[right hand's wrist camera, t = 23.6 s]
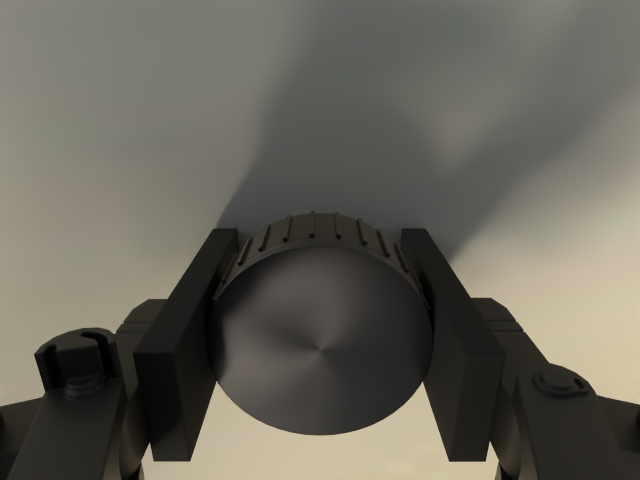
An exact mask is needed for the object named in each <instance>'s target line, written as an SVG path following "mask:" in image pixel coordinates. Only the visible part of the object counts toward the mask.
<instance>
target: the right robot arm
mask: <svg viewBox="0 0 640 480" xmlns="http://www.w3.org/2000/svg"><path fill="white" fill-rule="evenodd" d="M235 252H236V253H239V249H238V236H237V229H213V230H212V232H211V233H210V235H209V237H208V238H207V240H206V241H205V243H204V244H203V246H202V247H201V249H200V250H199V252H198V253H197V255H196V256H195V258H194V259H193V261H192V263H191V264H190V266H189V267H188V269H187V270H186V272H185V273H184V275H183V276H182V278H181V279H180V281H179V282H178V284H177V285H176V287H175V289H174V290H173V292H172V293H171V295H170V296H169V298H168V299H148V300H147V301H145V302H144V303H142V304H140V305H139V306H137V307H136V308H134V309H133V310H132V311H131V313H130V314H129V315H128V316H127V318H126V319H125V320H124V324H121V326H120V327H119V328H118V329H117V331H116V334H113V333H112V332H110V331H109V330H106V329H102V328H82V329H78V330H73V331H69V332H66V333H64V334H62V335H59V336H57V337H54V338H53V339H51V340H49V341H48V342H46V343H45V344H43V345H42V346H41V347H40V348H39V349H38V350H37V352H36V353H35V354H34V356H35V359H36V362H37V366H38V369H39V372H40V376H41V379H42V382H43V386H44V389H45V394H44V396H43V397H41V398H37V399H33V400H29V401H24V402H19V403H15V404H10V405H5V406H1V407H0V480H144V473H143V467H142V462H141V460H142V458H143V456H144V454H145V451H146V449H147V447H148V445H149V442H150V445H151V450H152V455H153V460H154V461H190V460H191V457H192V454H193V451H194V448H195V445H196V442H197V439H198V436H199V433H200V430H201V427H202V424H203V421H204V418H205V415H206V412H207V408H208V405H209V402H210V399H211V396H212V393H213V390H214V387H215V384H216V381H217V380H216V378H215V376H214V374H213V372H212V369H211V366H210V363H209V360H208V355H207V348H206V330H207V323H208V319H209V316H210V312H211V309H212V307H213V305H214V304H213V303H211V302H212V299H213V297H214V295H215V292H216V290H217V288H218V286H219V284H220V282H221V280H222V277H223V275H224V273H225V271H226V270H227V268H228V266H229V264H230V262H231V260H232V257H233V255H234V254H235ZM401 252H402V254H403V256H404V258H405V260H406V261H407V260H410V262H411V264H412V267H413V269H414V271H415V273H416V275H417V278H418V280H419V282H420V284H421V286H422V289H423V294H424V296H425V298H426V300H427V303H428V305H429V307H430V310H431V312H429V314H430V317H431V321H432V325H433V334H434V342H433V351H432V358H431V363H430V365H429V368H428V371H427V374H426V376H425V377H424V379H423V383H424V387H425V390H426V393H427V396H428V399H429V402H430V405H431V408H432V411H433V414H434V417H435V420H436V423H437V426H438V429H439V432H440V435H441V438H442V441H443V444H444V447H445V450H446V453H447V456H448V459H449V462H486V457H487V452H488V447H489V442H491V444H492V446H493V448H494V451H495V453H496V455H497V457H498V459H499V462H498V467H497V472H496V476H495V480H640V405H639V404H634V403H629V402H625V401H620V400H615V399H610V398H606V397H602V396H598V395H596V393H595V391H594V389H593V388H592V387H591V385H590V384H589V383H588V381H586V380H585V379H584V378H582V377H581V376H580V375H578V374H577V373H575V372H573V371H571V370H569V369H567V368H565V367H562V366H558V365H555V364H551V363H549V362H548V361H547V360H546V358H545V357H544V356H543V354H542V353H541V352H540V351H539V349H538V348H537V347H536V345H535V344H534V343H533V342H532V340H531V339H530V338H529V336H528V335H527V334H526V333H525V332H523V329H522V327H521V326H520V325H519V323H518V322H516V320H515V318H514V317H513V316H512V314H511V313H510V312H509V311H508V309H507V308H506V307H504V306H503V305H501V304H500V303H498V302H496V301H495V300H493V299H492V298H471V297H470V296H469V294H468V293H467V291H466V290H465V288H464V287H463V285H462V284H461V282H460V281H459V279H458V278H457V276H456V275H455V273H454V272H453V270H452V268H451V267H450V265H449V264H448V262H447V261H446V259H445V258H444V256H443V255H442V253H441V252H440V250H439V249H438V247H437V246H436V244H435V243H434V241H433V239H432V238H431V236H430V235H429V233H428V232H427V230H426V229H402V237H401Z"/></svg>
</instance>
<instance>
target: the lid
mask: <svg viewBox="0 0 640 480" xmlns="http://www.w3.org/2000/svg"><path fill="white" fill-rule="evenodd" d="M211 303H213V304H214V305H213V307H212V309H211V312H210V316H209V319H208V323H207V330H206V348H207V355H208V360H209V363H210V366H211V369H212V372H213V374H214V376H215V378H216V380H217V382H218V384H219V385H220V386H221V388H222V389H223V391H224V392H225V393H226V395H227V396H228V397H229V398H230V399H231V400H232V401H233V402H234V403H235V404H236V405H237V406H238V407H240V408H241V409H242V410H243V411H244V412H246V413H247V414H249V415H250V416H252V417H254V418H255V419H257V420H259V421H261V422H263V423H265V424H267V425H270V426H272V427H275V428H277V429H280V430H284V431H288V432H292V433H298V434H304V435H335V434H342V433H348V432H352V431H356V430H360V429H362V428H365V427H368V426H371V425H373V424H375V423H377V422H379V421H381V420H383V419H385V418H386V417H388V416H389V415H391V414H393V413H394V412H395V411H397V410H398V409H399V408H400V407H401V406H403V405H404V404H405V403H406V402H407V401H408V400H409V399H410V398H411V397H412V396H413V394H414V393H415V392H416V390H417V389H418V388H419V386H420V385H421V383H422V381H423V379H424V377H425V376H426V374H427V371H428V368H429V365H430V363H431V358H432V351H433V342H434V334H433V325H432V321H431V317H430V314H429V312H431V310H430V307H429V305H428V303H427V300H426V298H425V296H424V294H423V289H422V286H421V284H420V282H419V280H418V278H417V275H416V273H415V271H414V269H413V267H412V264H411V262H410V260H407V261H406V260H405V258H404V256H403V254H402V252H401V249H400V247H399V245H398V244H397V243H395V244H394V243H393V242H392V241H391V240H389V239H388V238H387V237H386V236H385V235H384V234H383V231H382V230H381V229H378V230H376V229H375V228H373V227H372V226H370V225H368V224H365V223H363V222H362V219H360V218H358V219H357V220H356V219H353V218H350V217H346V216H341V215H339V213H337V212H335V214H326V213H315V211H311V214H304V215H298V216H293V217H292V216H291V215H289V216H287V219H284V220H281V221H279V222H276V223H274V224H272V225H270V224H267V225H266V226H265V229H263V230H262V231H260V232H259V233H257V234H256V235H255V236H254V237H253V238H252V237H251V236H250V237H249V238H248V239H247V241H246V243H245V246H244V247H243V248H242V249H241V250H240V252H239V253H236V252H235V254H234V255H233V257H232V260H231V262H230V264H229V266H228V268H227V270H226V271H225V273H224V275H223V277H222V280H221V282H220V284H219V286H218V288H217V290H216V292H215V295H214V297H213V299H212V302H211Z"/></svg>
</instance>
